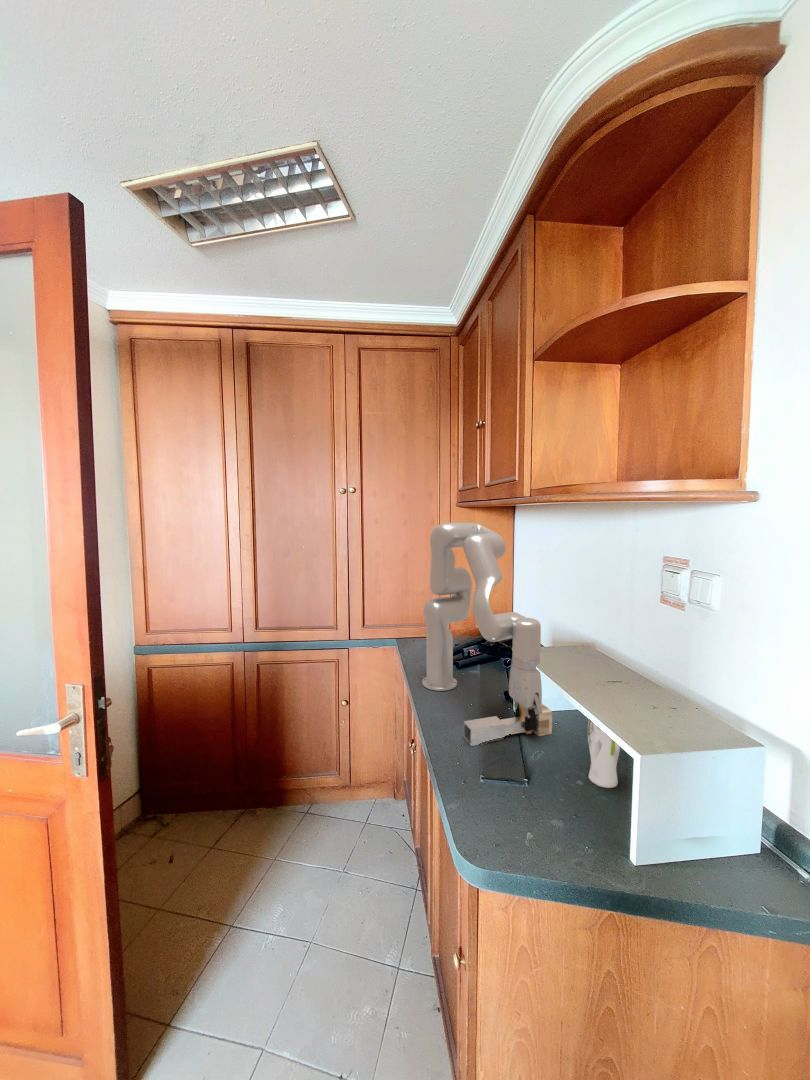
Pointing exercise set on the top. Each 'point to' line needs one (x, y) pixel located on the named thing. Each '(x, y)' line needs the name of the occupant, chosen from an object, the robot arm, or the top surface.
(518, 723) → the beige and yellow bar
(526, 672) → the robot arm
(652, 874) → the top surface
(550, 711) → the socket block
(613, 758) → the beer glass
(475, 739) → the sleeve
